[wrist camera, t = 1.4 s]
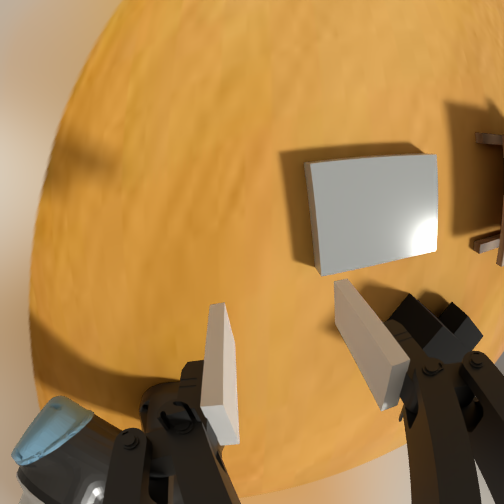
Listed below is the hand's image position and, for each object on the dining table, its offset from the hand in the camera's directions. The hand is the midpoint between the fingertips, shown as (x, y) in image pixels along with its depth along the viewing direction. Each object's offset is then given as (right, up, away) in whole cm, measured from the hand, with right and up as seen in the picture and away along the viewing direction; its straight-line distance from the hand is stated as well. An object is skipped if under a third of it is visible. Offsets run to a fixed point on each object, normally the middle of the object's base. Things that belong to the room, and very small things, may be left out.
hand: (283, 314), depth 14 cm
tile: (+13, +9, +16) cm, 22 cm away
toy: (+30, -14, +26) cm, 42 cm away
